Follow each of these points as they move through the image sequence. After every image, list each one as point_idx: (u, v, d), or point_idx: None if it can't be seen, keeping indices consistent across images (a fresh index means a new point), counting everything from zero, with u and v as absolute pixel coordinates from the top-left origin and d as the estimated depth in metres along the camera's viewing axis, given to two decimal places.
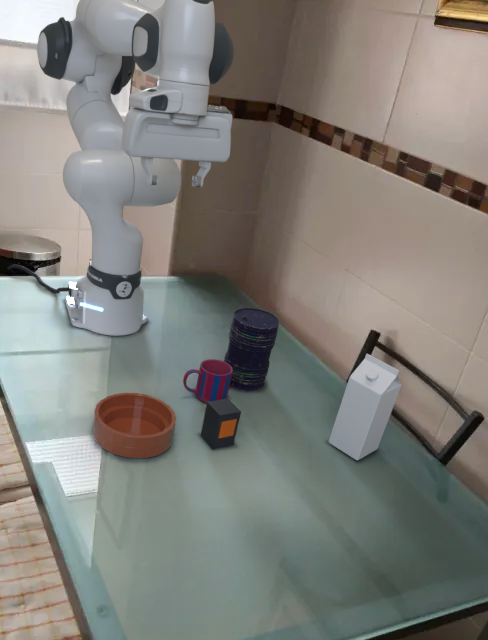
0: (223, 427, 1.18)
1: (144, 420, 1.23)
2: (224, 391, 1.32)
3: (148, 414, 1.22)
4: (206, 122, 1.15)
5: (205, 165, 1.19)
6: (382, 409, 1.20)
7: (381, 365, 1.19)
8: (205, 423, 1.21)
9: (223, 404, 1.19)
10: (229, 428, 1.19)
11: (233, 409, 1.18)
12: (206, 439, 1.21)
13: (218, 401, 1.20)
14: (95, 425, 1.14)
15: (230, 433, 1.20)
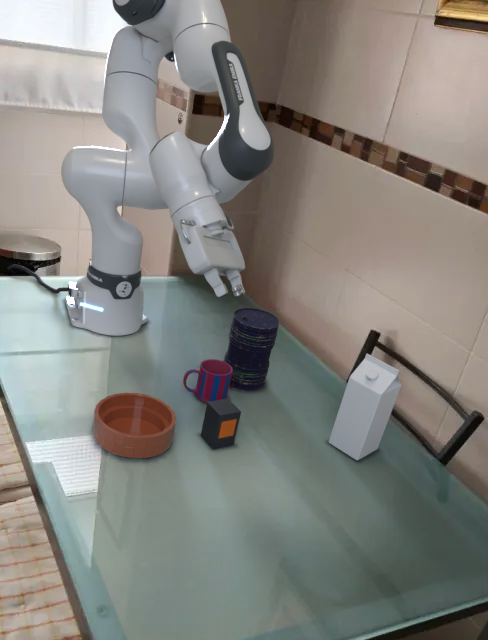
0: (223, 427, 1.18)
1: (144, 420, 1.23)
2: (224, 391, 1.32)
3: (148, 414, 1.22)
4: None
5: None
6: (382, 409, 1.20)
7: (381, 365, 1.19)
8: (205, 423, 1.21)
9: (223, 404, 1.19)
10: (229, 428, 1.19)
11: (233, 409, 1.18)
12: (206, 439, 1.21)
13: (218, 401, 1.20)
14: (95, 425, 1.14)
15: (230, 434, 1.20)
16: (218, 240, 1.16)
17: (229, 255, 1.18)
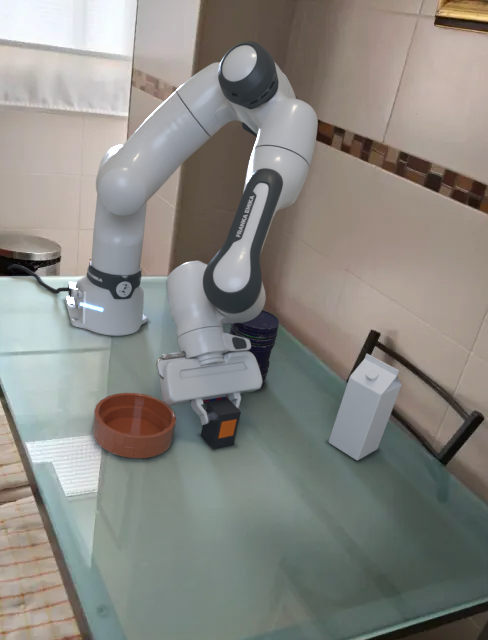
0: (223, 427, 1.18)
1: (144, 420, 1.23)
2: None
3: (148, 414, 1.22)
4: None
5: None
6: (382, 409, 1.20)
7: (381, 365, 1.19)
8: None
9: (223, 404, 1.19)
10: (229, 428, 1.19)
11: (233, 409, 1.18)
12: (206, 439, 1.21)
13: (218, 401, 1.20)
14: (95, 425, 1.14)
15: (230, 434, 1.20)
16: (215, 366, 1.20)
17: (229, 380, 1.21)
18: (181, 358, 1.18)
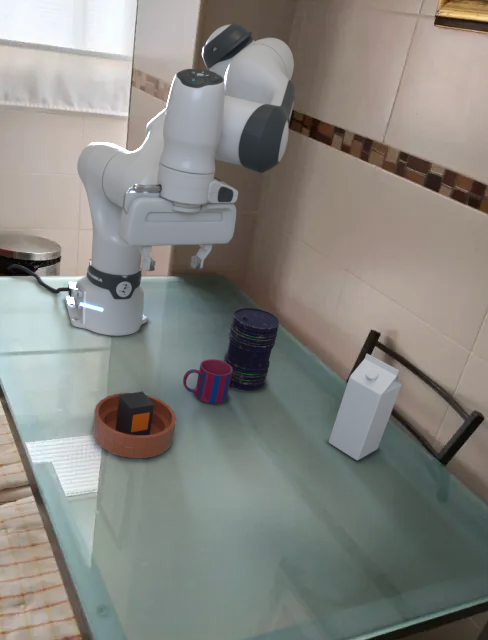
0: (135, 421, 1.14)
1: None
2: (224, 391, 1.32)
3: None
4: None
5: None
6: (382, 409, 1.20)
7: (381, 365, 1.19)
8: (118, 417, 1.16)
9: (136, 397, 1.15)
10: (142, 421, 1.15)
11: (146, 402, 1.14)
12: None
13: (131, 394, 1.16)
14: (95, 425, 1.14)
15: (144, 427, 1.16)
16: (189, 213, 1.05)
17: (198, 231, 1.08)
18: (155, 194, 1.01)
